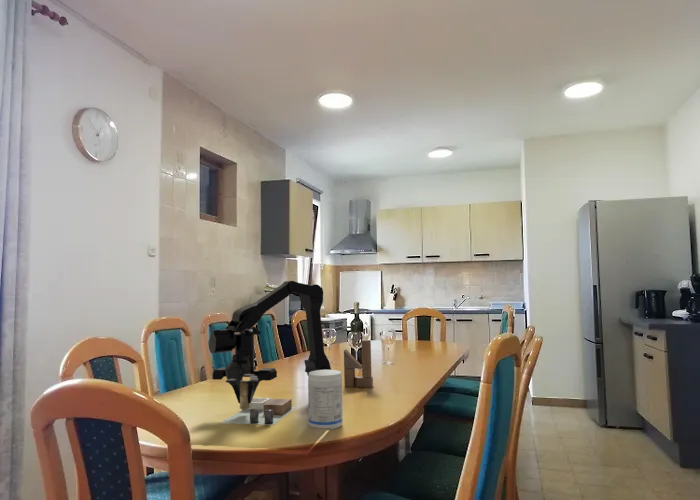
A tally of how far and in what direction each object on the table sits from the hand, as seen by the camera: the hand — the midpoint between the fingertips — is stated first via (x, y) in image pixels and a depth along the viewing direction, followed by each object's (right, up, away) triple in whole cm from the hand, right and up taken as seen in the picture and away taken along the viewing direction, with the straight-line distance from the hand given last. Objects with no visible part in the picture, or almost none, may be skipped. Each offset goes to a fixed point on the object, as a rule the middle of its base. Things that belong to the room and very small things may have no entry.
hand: (244, 403), depth 143 cm
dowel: (0, -1, 0) cm, 1 cm away
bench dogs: (+7, -3, -9) cm, 12 cm away
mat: (+5, -4, 0) cm, 6 cm away
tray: (+2, -4, +8) cm, 9 cm away
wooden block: (+35, -8, +43) cm, 56 cm away
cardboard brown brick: (+10, -4, +3) cm, 11 cm away
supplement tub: (+25, -3, -11) cm, 27 cm away
